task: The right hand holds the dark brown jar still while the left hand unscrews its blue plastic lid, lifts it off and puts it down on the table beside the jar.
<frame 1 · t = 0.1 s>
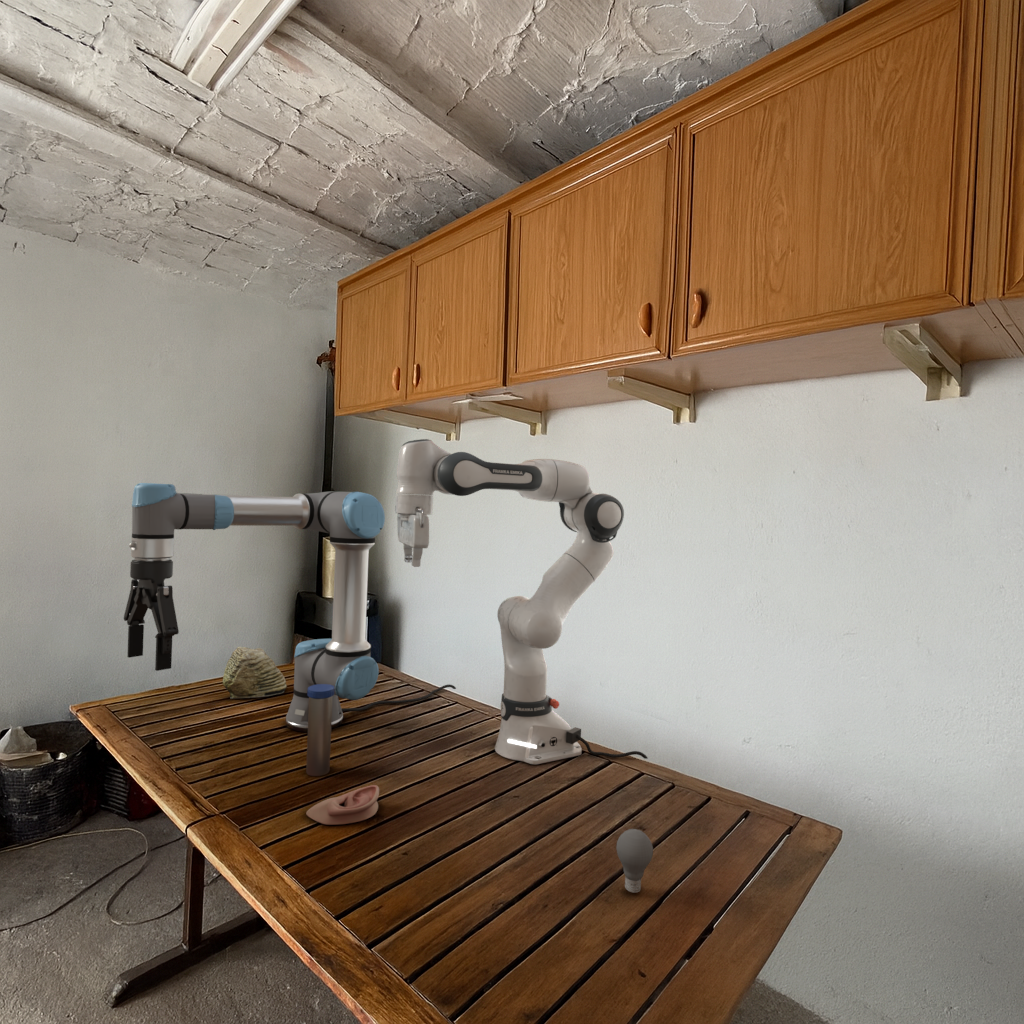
left hand: (148, 662, 129), 28 cm above the table, tool pointing down, fingers open, 13 cm apart
right hand: (411, 564, 152), 48 cm above the table, tool pointing down, fingers open, 8 cm apart
anatomical model: (343, 812, 128), on the table
fossil: (254, 694, 198), on the table
light bulb: (632, 891, 106), on the table
lid: (321, 689, 146), point 19 cm above the table, screwed on, not yet turned
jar: (317, 771, 146), on the table
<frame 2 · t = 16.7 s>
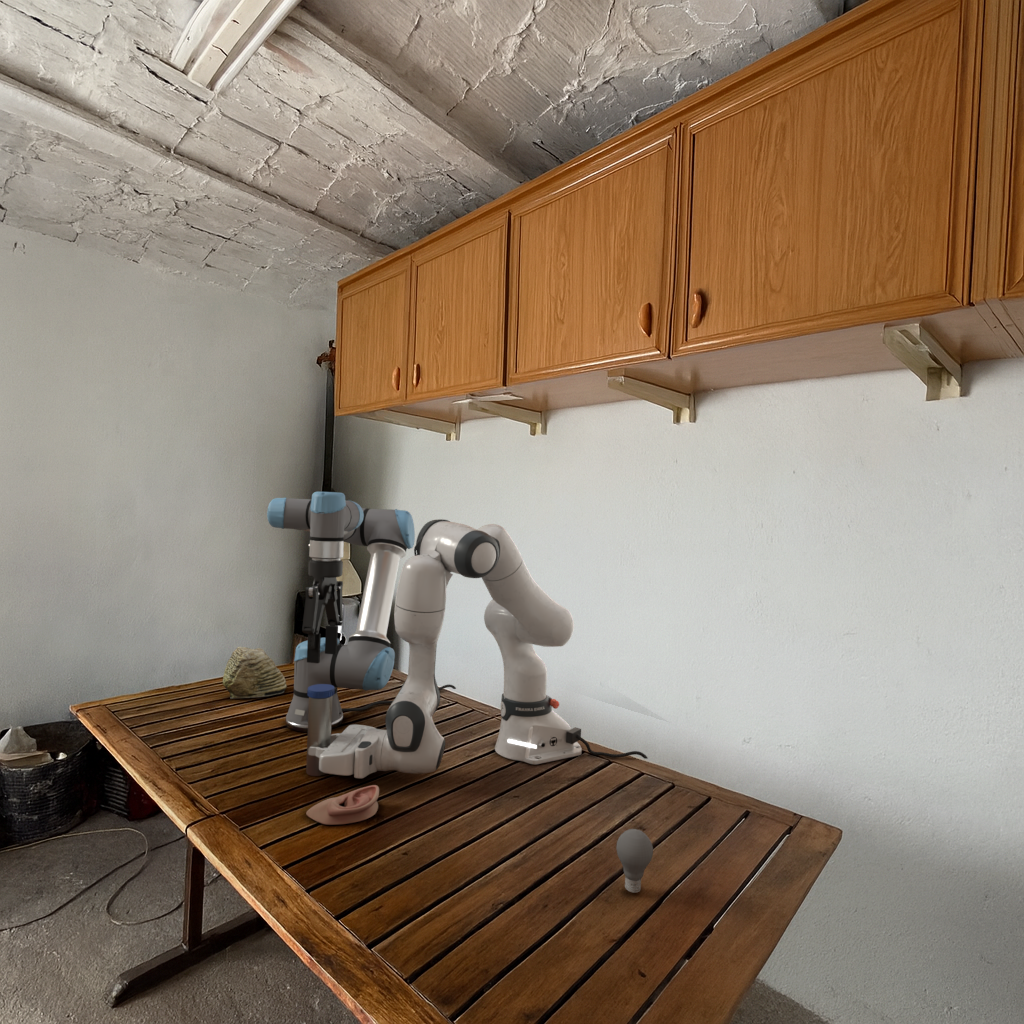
left hand: (322, 657, 145), 26 cm above the table, tool pointing down, fingers open, 8 cm apart
right hand: (315, 744, 146), 6 cm above the table, tool horizontal, fingers closed on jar, 5 cm apart
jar: (317, 771, 146), on the table, touching right hand
everything else where it was.
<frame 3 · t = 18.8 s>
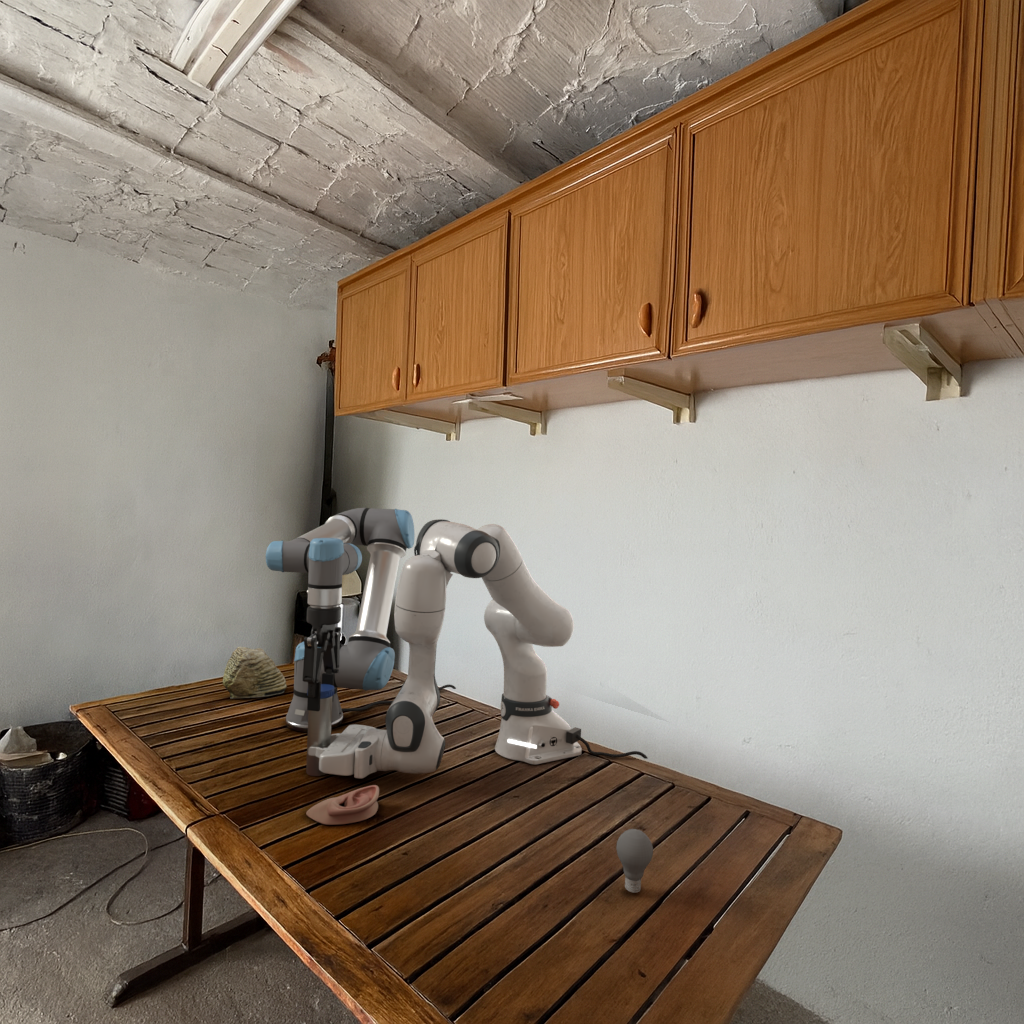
left hand: (320, 705, 146), 15 cm above the table, tool pointing down, fingers closed on lid, 6 cm apart
right hand: (315, 744, 146), 6 cm above the table, tool horizontal, fingers closed on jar, 5 cm apart
lid: (321, 689, 146), point 19 cm above the table, screwed on, not yet turned, touching left hand
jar: (317, 771, 146), on the table, touching right hand
everything else where it was.
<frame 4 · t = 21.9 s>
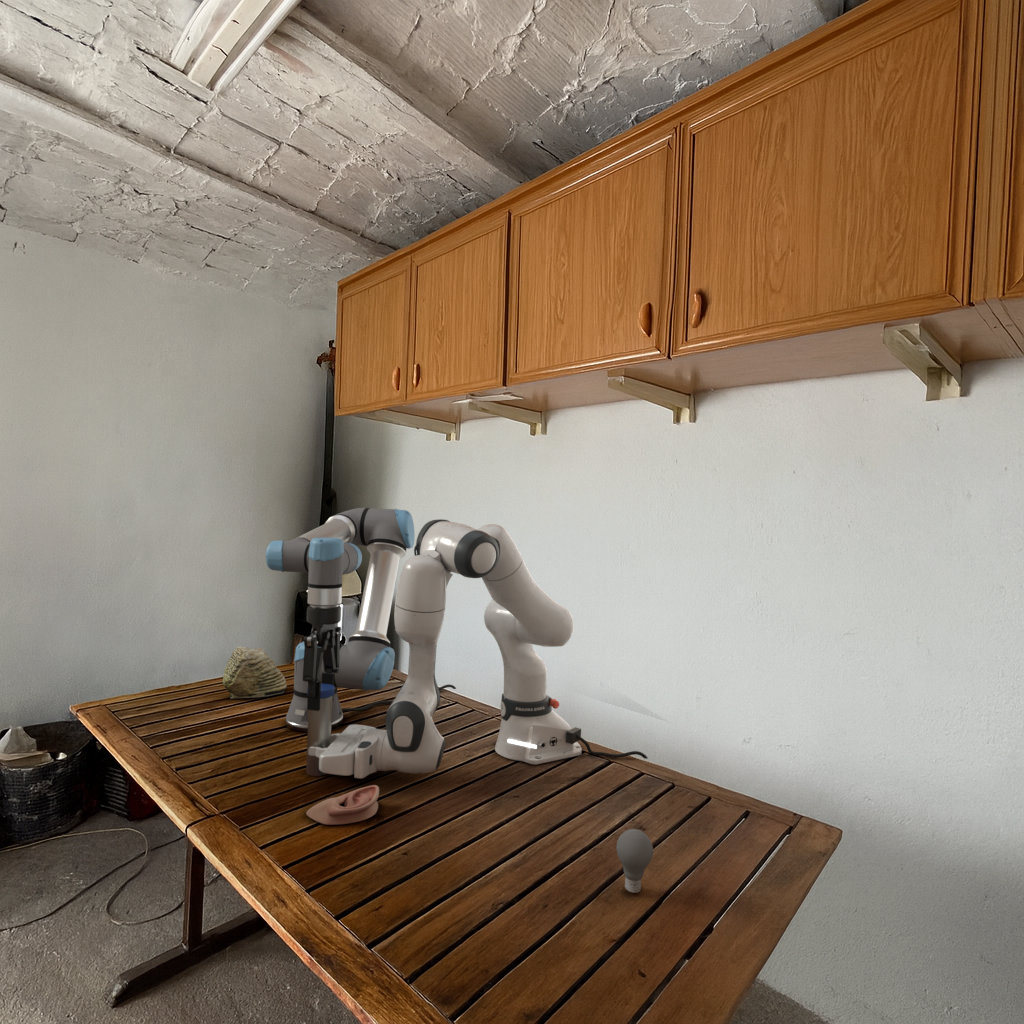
left hand: (320, 705, 146), 15 cm above the table, tool pointing down, fingers closed on lid, 6 cm apart
right hand: (315, 744, 146), 6 cm above the table, tool horizontal, fingers closed on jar, 5 cm apart
lid: (321, 688, 146), point 19 cm above the table, turned 81° so far, risen 0.1 cm, still on its thread, touching left hand
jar: (317, 771, 146), on the table, touching right hand
everything else where it was.
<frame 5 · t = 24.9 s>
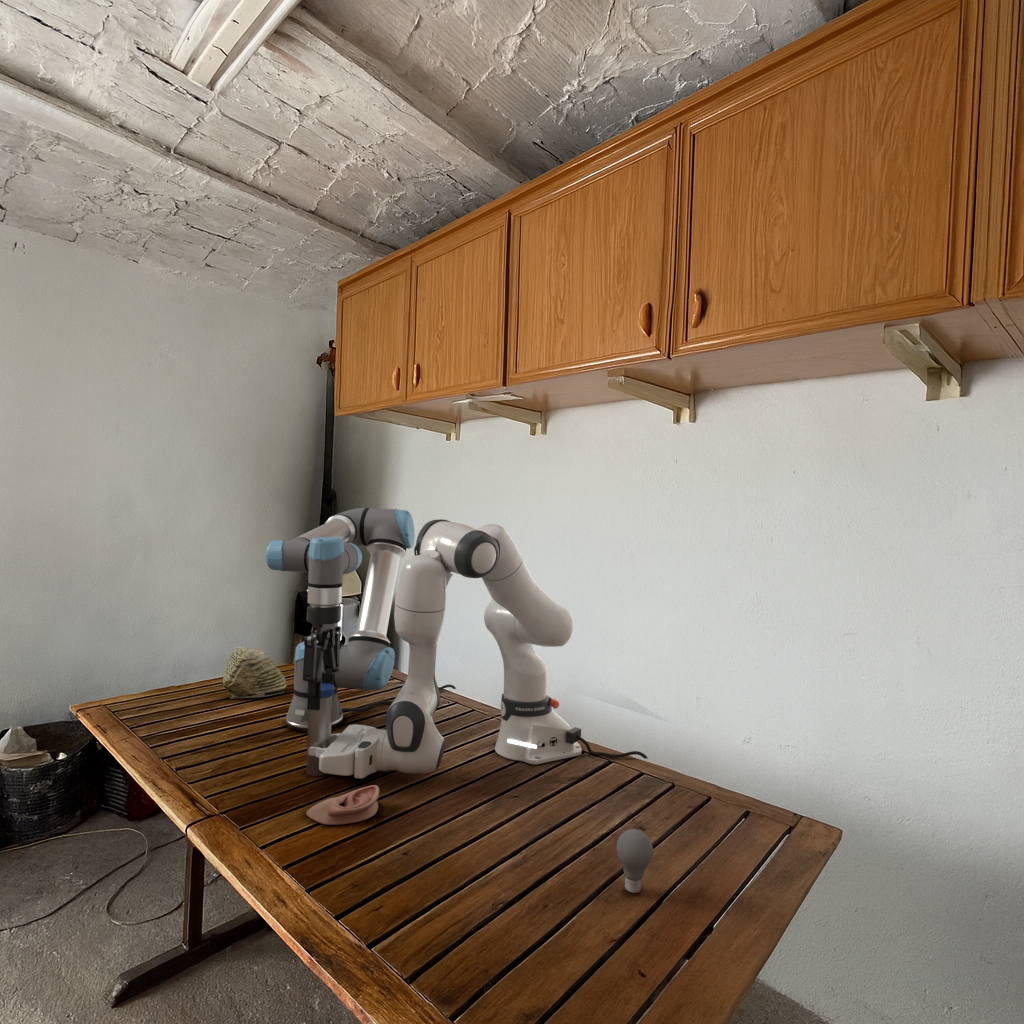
left hand: (320, 704, 146), 15 cm above the table, tool pointing down, fingers closed on lid, 6 cm apart
right hand: (315, 744, 146), 6 cm above the table, tool horizontal, fingers closed on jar, 5 cm apart
lid: (321, 688, 146), point 19 cm above the table, turned 161° so far, risen 0.2 cm, still on its thread, touching left hand
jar: (317, 771, 146), on the table, touching right hand
everything else where it was.
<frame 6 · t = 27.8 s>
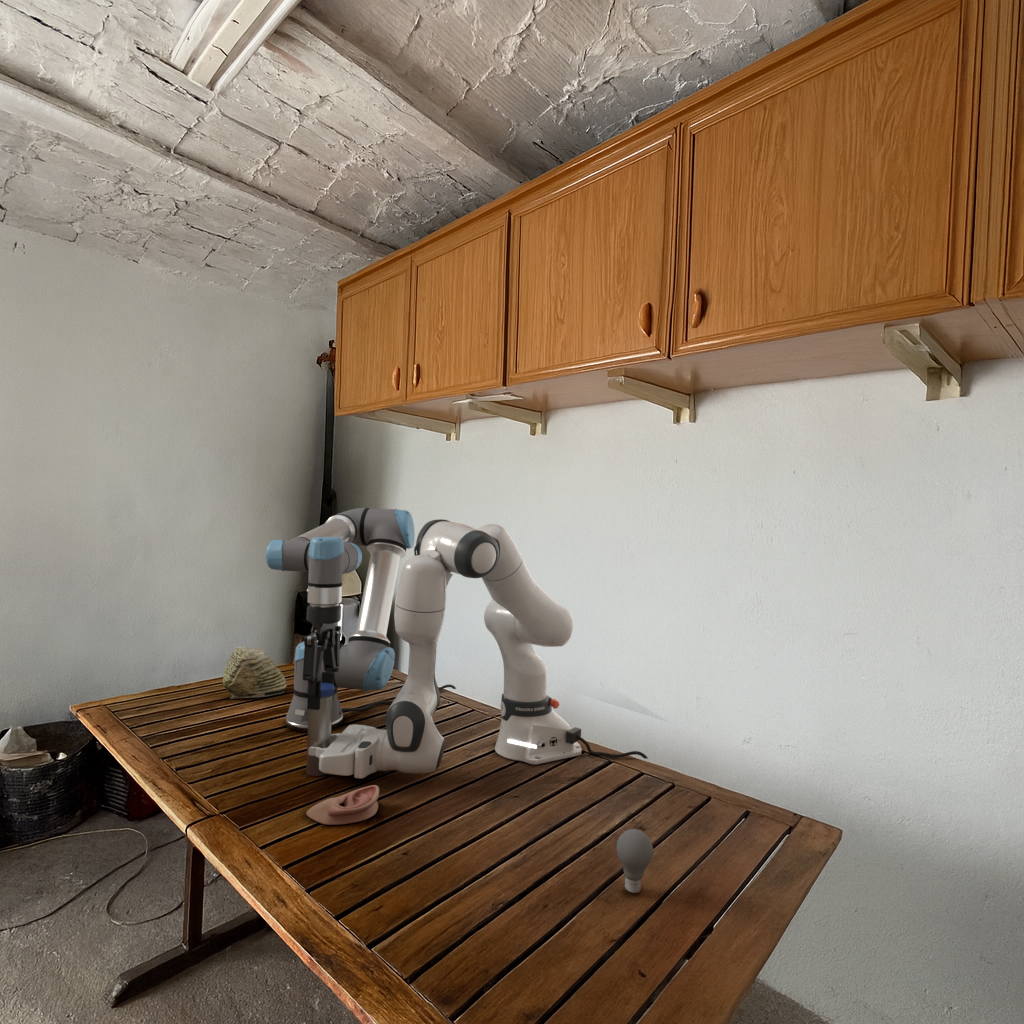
left hand: (320, 704, 146), 16 cm above the table, tool pointing down, fingers closed on lid, 6 cm apart
right hand: (315, 744, 146), 6 cm above the table, tool horizontal, fingers closed on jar, 5 cm apart
lid: (321, 687, 146), point 19 cm above the table, turned 242° so far, risen 0.3 cm, still on its thread, touching left hand
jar: (317, 771, 146), on the table, touching right hand
everything else where it was.
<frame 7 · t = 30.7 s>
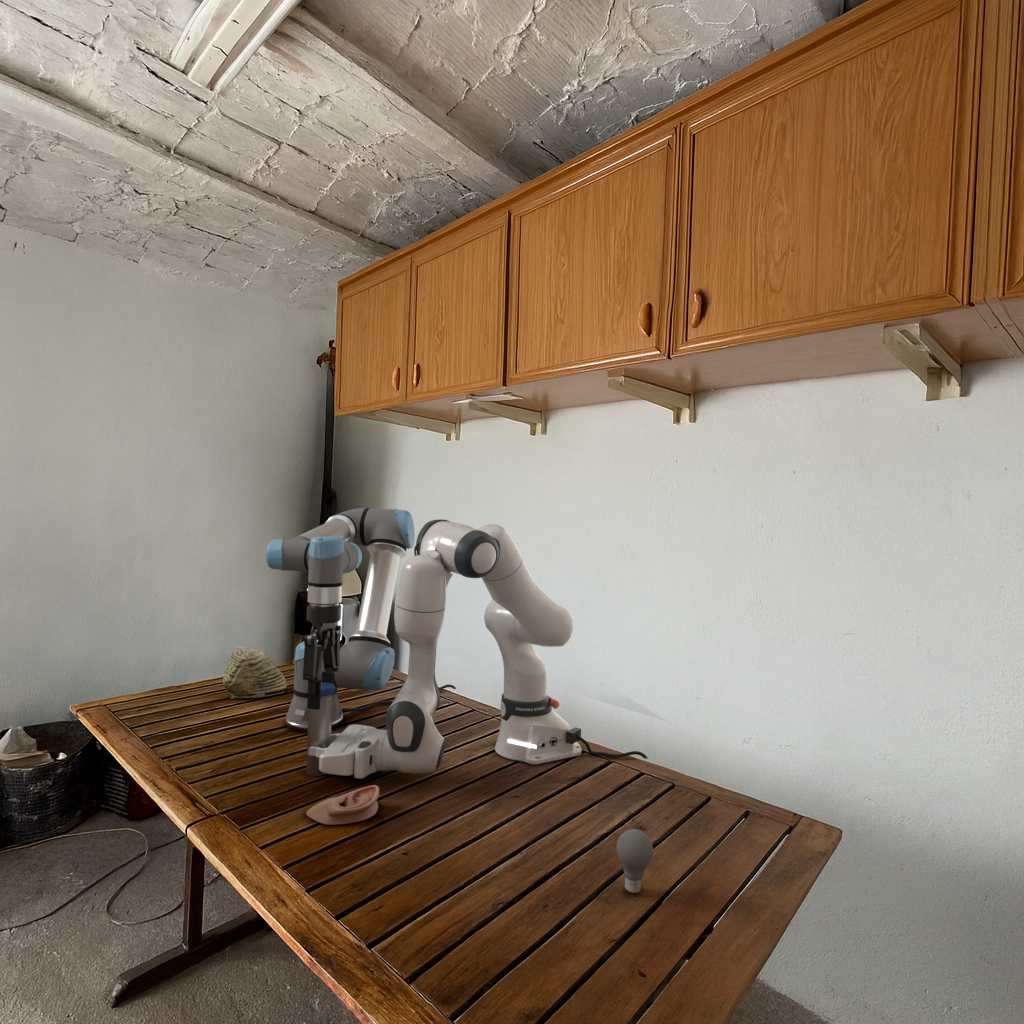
left hand: (320, 703, 146), 16 cm above the table, tool pointing down, fingers closed on lid, 6 cm apart
right hand: (315, 744, 146), 6 cm above the table, tool horizontal, fingers closed on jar, 5 cm apart
lid: (321, 687, 146), point 19 cm above the table, turned 323° so far, risen 0.4 cm, still on its thread, touching left hand
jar: (317, 771, 146), on the table, touching right hand
everything else where it was.
when the left hand's fingers open (0 cm above the table, at t = 40.8 s): lid drops 3 cm, point 1 cm above the table.
when the right hand's fingers open (6 cm above the table, at t = 41.5 s): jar stays where it is, on the table.
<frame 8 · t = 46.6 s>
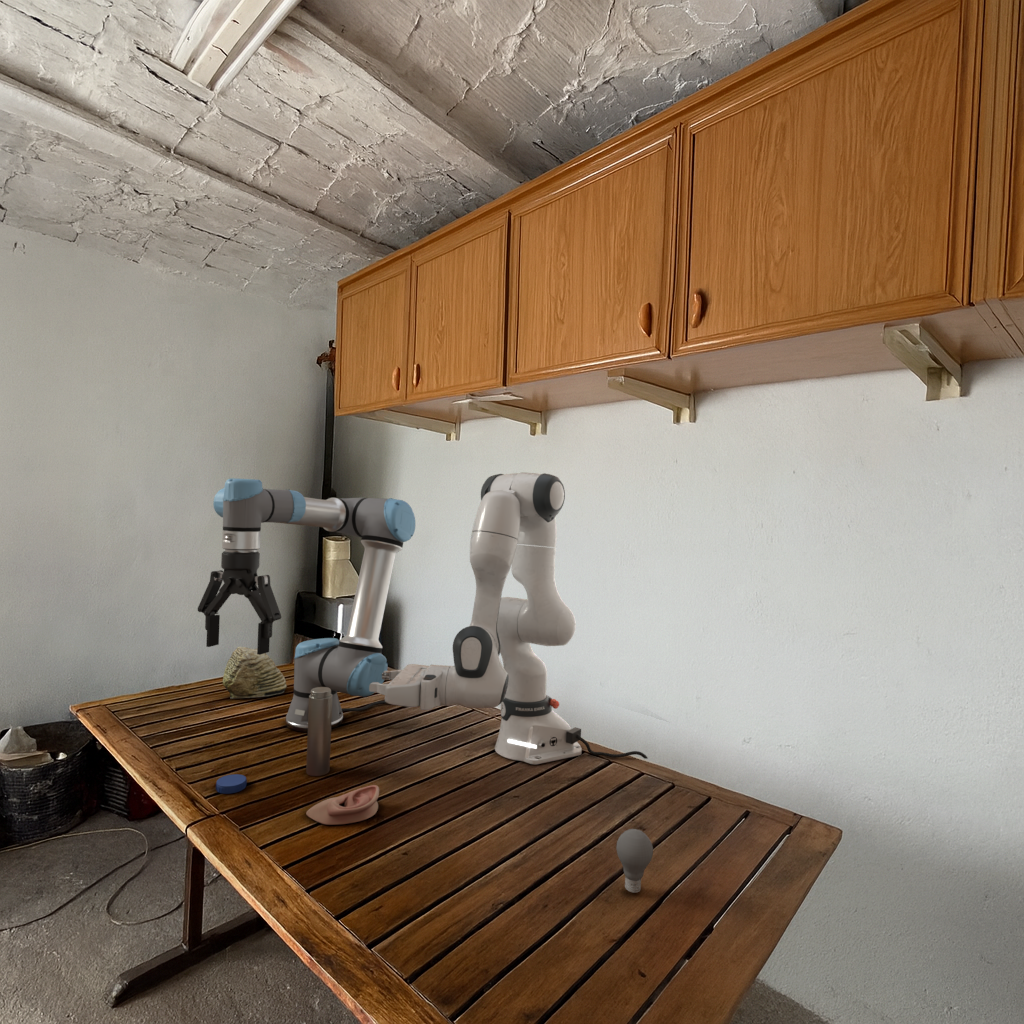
left hand: (237, 649, 136), 30 cm above the table, tool pointing down, fingers open, 13 cm apart
right hand: (376, 680, 144), 22 cm above the table, tool horizontal, fingers open, 8 cm apart
lid: (231, 781, 136), point 1 cm above the table, off its thread
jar: (317, 771, 146), on the table
everything else where it was.
at the end: lid came off its thread; lid point 1.3 cm above the table; the left hand is holding nothing; the right hand is holding nothing; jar tilted 0°; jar moved 0.0 cm from its start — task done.
